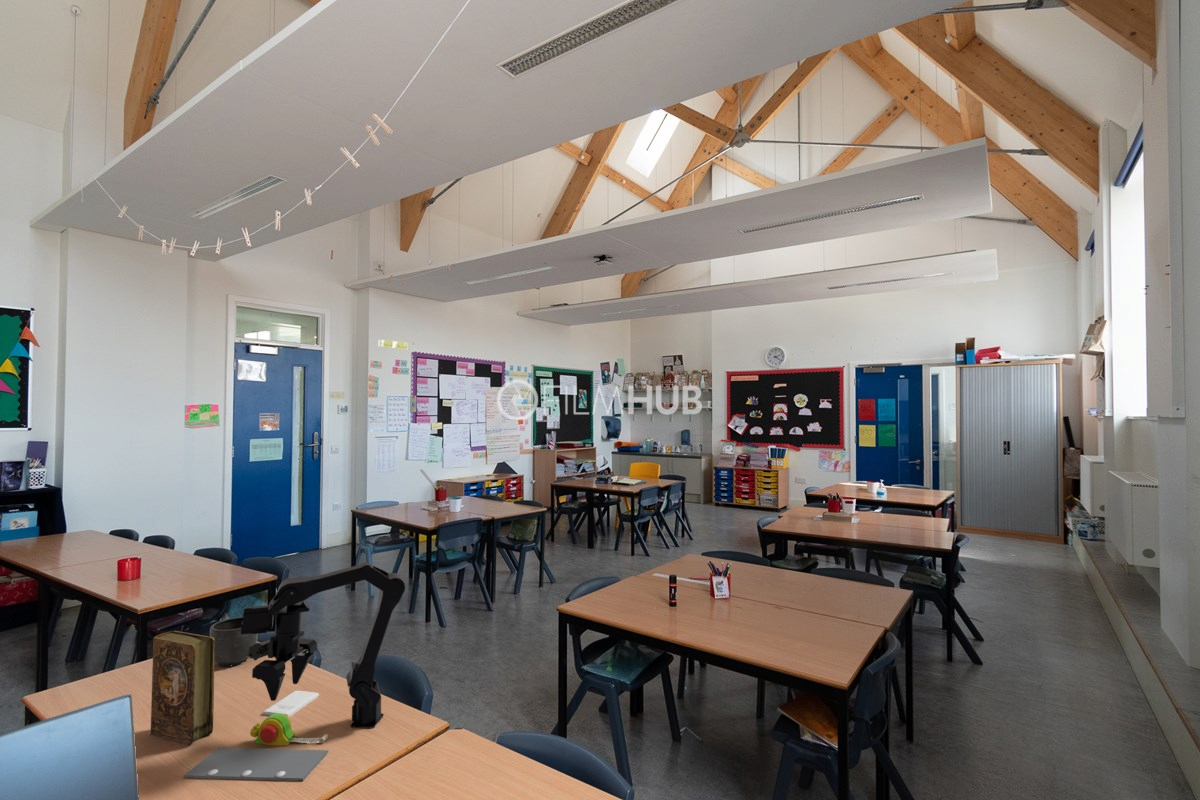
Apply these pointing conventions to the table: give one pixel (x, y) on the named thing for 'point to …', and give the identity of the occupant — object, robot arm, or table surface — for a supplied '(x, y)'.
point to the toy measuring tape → (279, 732)
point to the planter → (231, 642)
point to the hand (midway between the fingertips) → (284, 691)
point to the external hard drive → (292, 703)
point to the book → (182, 686)
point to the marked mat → (258, 764)
